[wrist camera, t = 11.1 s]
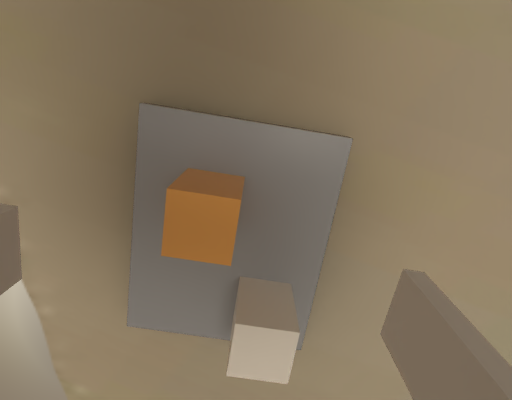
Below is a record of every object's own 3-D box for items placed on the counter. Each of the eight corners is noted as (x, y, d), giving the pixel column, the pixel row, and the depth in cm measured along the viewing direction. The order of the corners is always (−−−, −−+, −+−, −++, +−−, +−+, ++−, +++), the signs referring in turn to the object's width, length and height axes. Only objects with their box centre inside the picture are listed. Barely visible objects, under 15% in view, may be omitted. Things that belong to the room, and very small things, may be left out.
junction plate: (145, 102, 28) (100, 103, 20) (348, 136, 29) (383, 150, 21) (132, 316, 35) (93, 383, 26) (299, 340, 35) (311, 411, 27)
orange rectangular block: (188, 167, 28) (166, 188, 22) (245, 176, 29) (241, 199, 22) (182, 221, 30) (161, 255, 23) (236, 229, 30) (230, 266, 23)
